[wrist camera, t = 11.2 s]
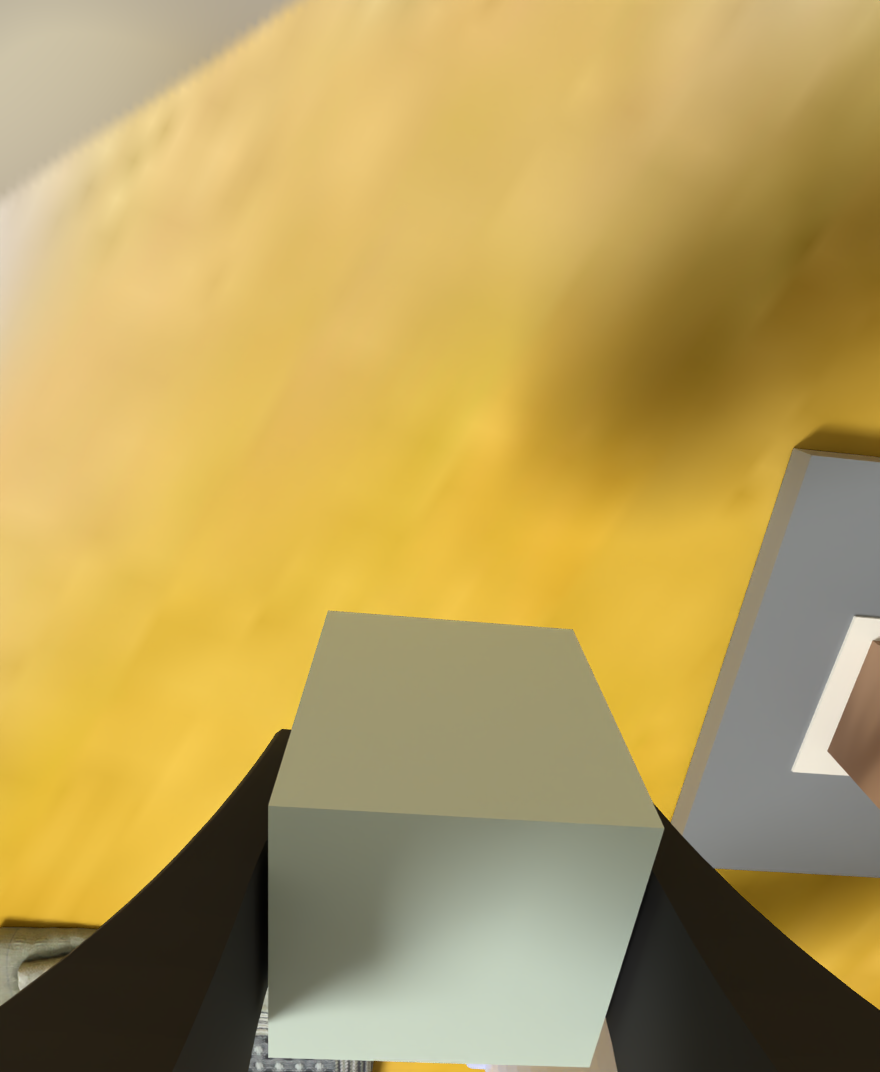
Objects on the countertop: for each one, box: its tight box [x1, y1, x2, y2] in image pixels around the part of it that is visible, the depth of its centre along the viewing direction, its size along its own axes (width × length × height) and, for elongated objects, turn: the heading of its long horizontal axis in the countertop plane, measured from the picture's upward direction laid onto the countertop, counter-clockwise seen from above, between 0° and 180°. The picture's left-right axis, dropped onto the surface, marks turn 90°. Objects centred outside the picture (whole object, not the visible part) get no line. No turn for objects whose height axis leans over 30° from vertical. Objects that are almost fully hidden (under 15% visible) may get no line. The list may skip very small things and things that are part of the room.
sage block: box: [268, 611, 664, 1067], centre depth 11 cm, size 5×5×5 cm
